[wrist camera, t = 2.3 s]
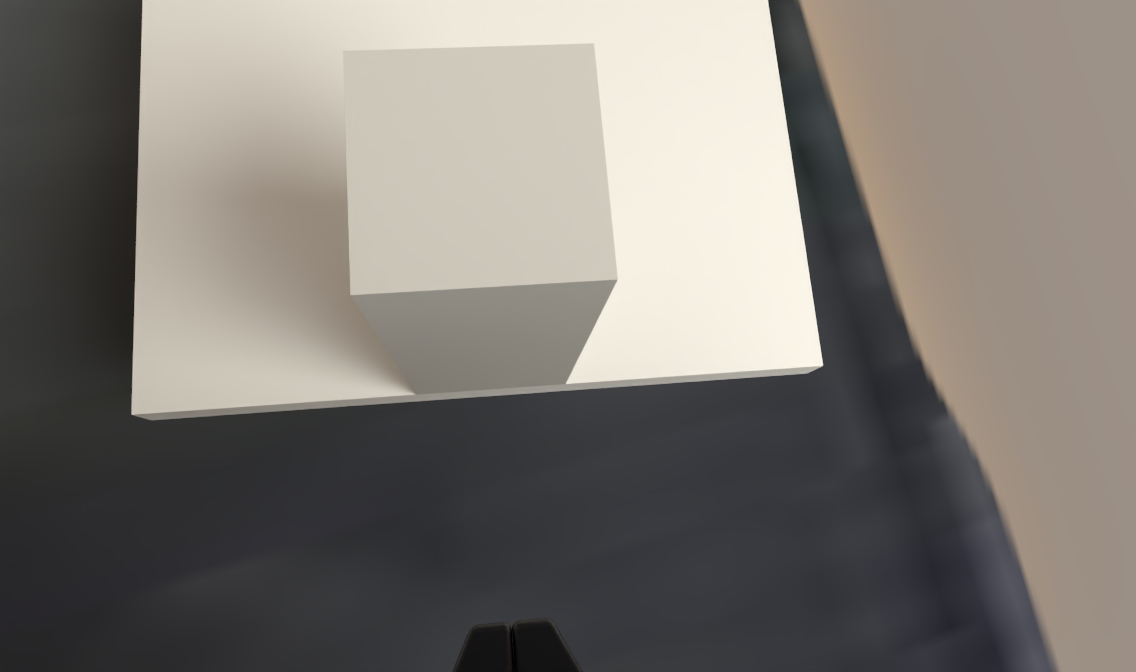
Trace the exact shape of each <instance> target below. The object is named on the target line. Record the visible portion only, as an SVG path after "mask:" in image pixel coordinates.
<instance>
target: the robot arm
mask: <svg viewBox="0 0 1136 672" xmlns="http://www.w3.org/2000/svg"><path fill="white" fill-rule="evenodd" d="M512 636H513V643H512ZM513 652H514V657H513ZM514 668H515V672H583V671H582V669H581V668H580V666H579V664H578V663H577V661H576V659H575V657H574V656H573V654H572V652H571V651H570V649H569V647H568V646H567V644H566V642H565V640H564V639H563V637H562V635H561V634H560V632H559V630H558V628H557V627H556V625H555V624H554V623H553V622H552V621H551V620H550V619H548V618H541V619H531V620H521V621H517V622H515V623H514V625H513V626H512V629H511V626H510V625H509V624H508V623H505V622H500V623H490V624H480V625H475V626H473V627H472V628H471V629H470V631H469V632H468V634H467V637H466V639H465V642H464V644H463V647H462V649H461V652H460V654H459V657H458V659H457V662H456V664H455V667H454V669H453V671H452V672H514Z"/></svg>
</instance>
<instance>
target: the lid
mask: <svg viewBox="0 0 1136 672" xmlns="http://www.w3.org/2000/svg"><path fill="white" fill-rule="evenodd" d="M822 366H823V362H822V355H821V349H820V342H819V335H818V329H817V322H816V316H815V309H814V302H813V296H812V289H811V283H810V276H809V269H808V263H807V256H806V250H805V243H804V236H803V230H802V223H801V217H800V210H799V203H798V197H797V190H796V184H795V177H794V170H793V164H792V157H791V151H790V144H789V137H788V131H787V124H786V118H785V111H784V104H783V98H782V91H781V84H780V78H779V71H778V65H777V58H776V51H775V45H774V38H773V32H772V25H771V18H770V12H769V5H768V0H143V2H142V39H141V76H140V114H139V151H138V189H137V226H136V264H135V301H134V339H133V376H132V413H131V415H134V416H138V417H141V418H145V419H148V420H163V419H177V418H191V417H205V416H219V415H233V414H247V413H261V412H275V411H289V410H303V409H316V408H330V407H344V406H358V405H372V404H386V403H400V402H414V401H428V400H442V399H456V398H470V397H484V396H498V395H512V394H526V393H540V392H554V391H568V390H582V389H596V388H610V387H624V386H638V385H652V384H666V383H680V382H694V381H708V380H722V379H736V378H750V377H764V376H778V375H792V374H806V373H809V372H811V371H813V370H815V369H817V368H820V367H822Z"/></svg>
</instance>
